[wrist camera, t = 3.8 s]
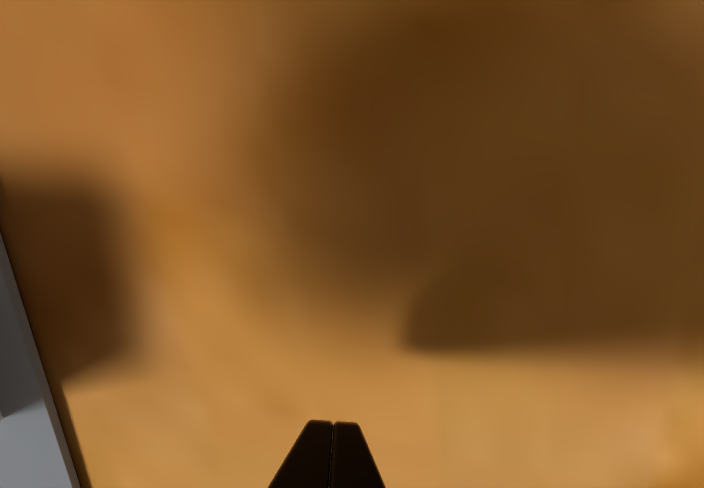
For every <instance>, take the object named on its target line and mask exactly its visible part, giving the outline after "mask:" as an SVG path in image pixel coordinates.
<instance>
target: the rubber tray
mask: <svg viewBox="0 0 704 488" xmlns="http://www.w3.org/2000/svg"><path fill="white" fill-rule="evenodd" d="M0 411H1V413H2V416H3V419H2V420H1V421H0V488H80V484H79V481H78V478H77V475H76V472H75V469H74V465H73V462H72V459H71V456H70V453H69V449H68V446H67V443H66V440H65V437H64V434H63V430H62V427H61V424H60V421H59V418H58V414H57V411H56V408H55V405H54V402H53V399H52V395H51V392H50V389H49V386H48V383H47V379H46V376H45V373H44V370H43V367H42V363H41V360H40V357H39V354H38V351H37V348H36V344H35V341H34V338H33V335H32V332H31V328H30V325H29V322H28V319H27V316H26V313H25V309H24V306H23V303H22V300H21V297H20V293H19V290H18V287H17V284H16V281H15V278H14V274H13V271H12V268H11V265H10V262H9V258H8V255H7V252H6V249H5V246H4V243H3V239H2V236H1V233H0Z"/></svg>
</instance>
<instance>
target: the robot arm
mask: <svg viewBox="0 0 704 488" xmlns="http://www.w3.org/2000/svg"><path fill="white" fill-rule="evenodd" d="M332 434H333V438H332ZM331 449H332V452H331ZM330 463H331V466H330ZM329 477H330V480H329ZM268 488H386V487H385V485H384V482H383V480H382V478H381V475H380V473H379V471H378V468H377V466H376V464H375V461H374V459H373V456H372V454H371V452H370V449H369V447H368V445H367V442H366V440H365V438H364V435H363V433H362V431H361V428H360V426H359V425H358V424H357V423H355V422H341V421H338V422H335V423H334V425H333V424H332V422H331V421H326V420H310V421H308V422H307V424H306V425H305V427H304V428H303V430H302V432H301V433H300V435H299V437H298V438H297V440H296V442H295V443H294V445H293V447H292V448H291V450H290V452H289V453H288V455H287V457H286V458H285V460H284V462H283V463H282V465H281V467H280V468H279V470H278V471H277V473H276V475H275V476H274V478H273V480H272V481H271V483H270V485H269V486H268Z"/></svg>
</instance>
